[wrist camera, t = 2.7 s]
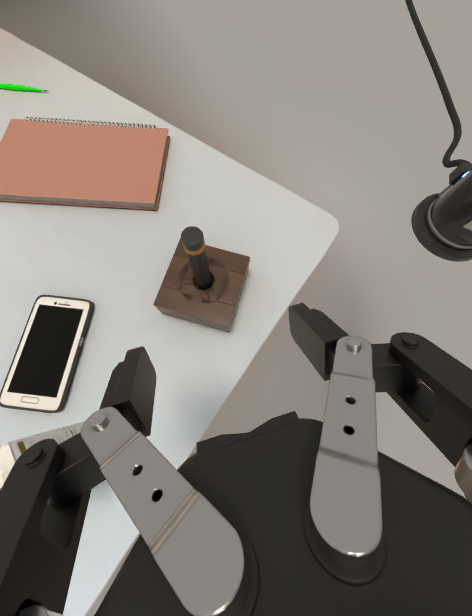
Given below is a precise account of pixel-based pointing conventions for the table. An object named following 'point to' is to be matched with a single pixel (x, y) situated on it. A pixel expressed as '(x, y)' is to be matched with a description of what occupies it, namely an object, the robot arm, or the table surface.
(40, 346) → the cell phone
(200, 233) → the stylus
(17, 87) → the green pen
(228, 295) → the pen stand
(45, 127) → the notebook
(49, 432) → the syrup box
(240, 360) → the table surface
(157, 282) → the table surface
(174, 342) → the table surface
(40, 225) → the table surface
